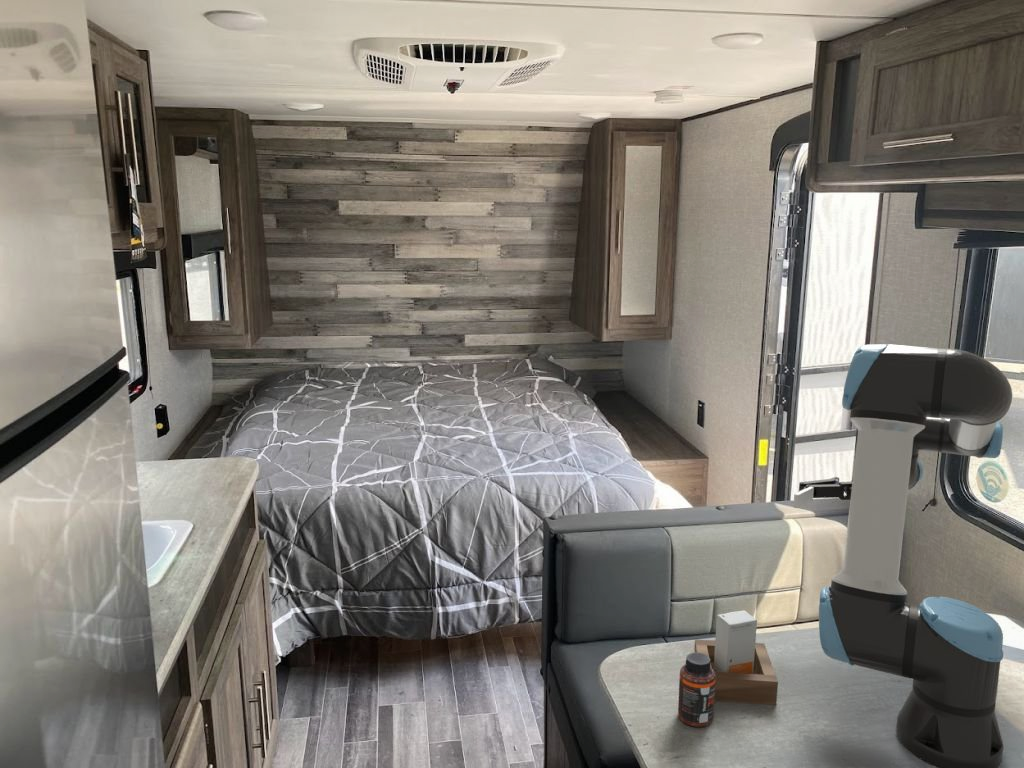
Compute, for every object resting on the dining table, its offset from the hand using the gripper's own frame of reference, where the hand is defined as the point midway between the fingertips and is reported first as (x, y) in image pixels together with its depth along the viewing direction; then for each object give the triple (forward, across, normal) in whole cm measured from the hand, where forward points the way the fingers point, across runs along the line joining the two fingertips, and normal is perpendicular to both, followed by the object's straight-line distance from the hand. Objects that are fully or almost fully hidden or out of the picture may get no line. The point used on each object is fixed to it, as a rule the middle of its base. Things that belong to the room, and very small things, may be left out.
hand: (829, 510), depth 148 cm
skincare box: (+20, +6, -29) cm, 36 cm away
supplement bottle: (+35, +5, -30) cm, 46 cm away
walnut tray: (+20, +6, -30) cm, 37 cm away
